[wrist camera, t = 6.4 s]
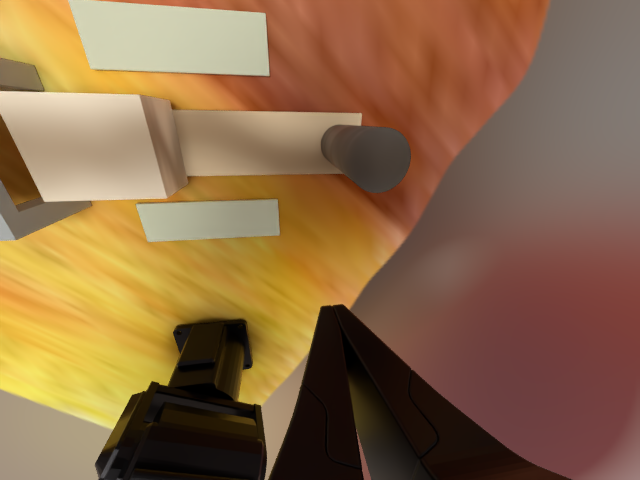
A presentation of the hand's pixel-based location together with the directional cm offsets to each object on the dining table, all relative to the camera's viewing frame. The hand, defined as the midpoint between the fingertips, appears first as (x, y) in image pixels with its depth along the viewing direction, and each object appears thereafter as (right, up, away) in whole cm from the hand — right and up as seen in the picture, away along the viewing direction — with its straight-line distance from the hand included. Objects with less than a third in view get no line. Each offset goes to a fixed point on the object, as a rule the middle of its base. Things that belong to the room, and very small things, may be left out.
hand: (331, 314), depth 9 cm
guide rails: (-9, +9, +8) cm, 15 cm away
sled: (-7, +9, +8) cm, 14 cm away
